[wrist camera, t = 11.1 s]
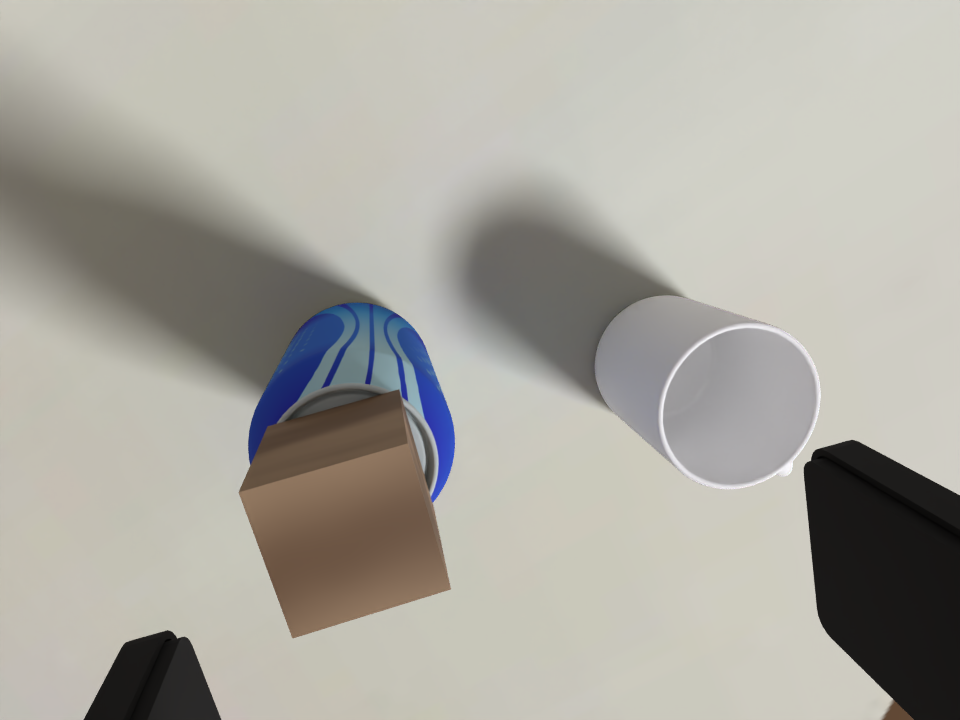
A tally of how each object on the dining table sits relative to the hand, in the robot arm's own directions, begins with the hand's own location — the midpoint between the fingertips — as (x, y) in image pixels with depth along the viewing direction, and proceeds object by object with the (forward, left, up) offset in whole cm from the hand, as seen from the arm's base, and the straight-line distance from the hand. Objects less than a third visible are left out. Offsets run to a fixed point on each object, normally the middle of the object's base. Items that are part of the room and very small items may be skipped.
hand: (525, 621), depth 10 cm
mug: (+9, +15, -33) cm, 37 cm away
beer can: (+3, -4, -33) cm, 33 cm away
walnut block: (+3, -4, -17) cm, 17 cm away
